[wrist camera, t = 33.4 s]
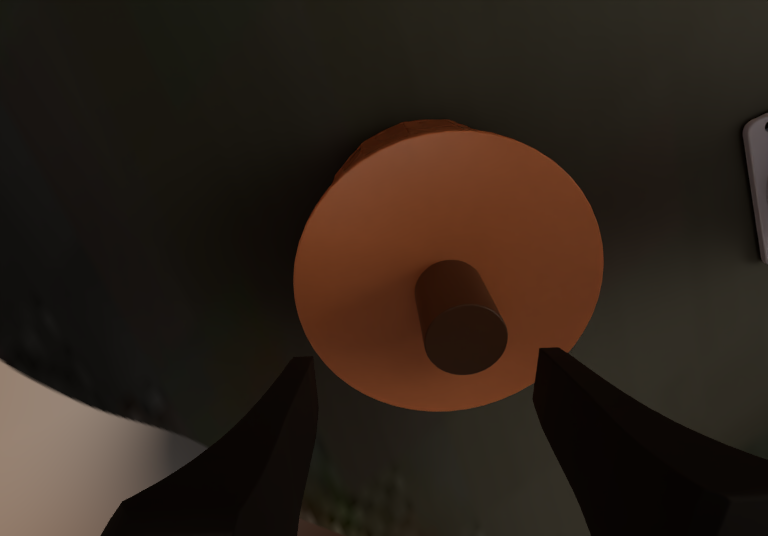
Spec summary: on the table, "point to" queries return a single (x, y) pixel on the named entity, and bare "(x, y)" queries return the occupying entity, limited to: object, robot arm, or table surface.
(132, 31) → the table surface
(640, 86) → the table surface
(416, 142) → the lid
